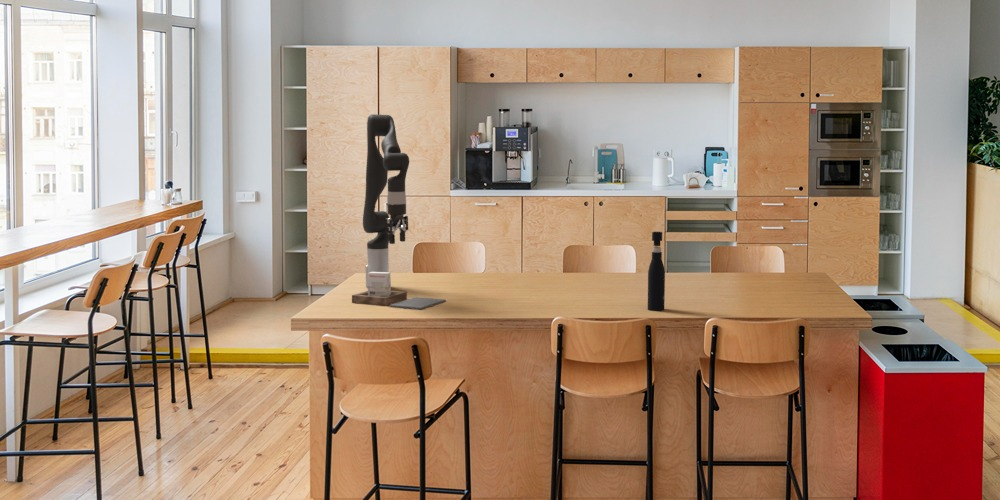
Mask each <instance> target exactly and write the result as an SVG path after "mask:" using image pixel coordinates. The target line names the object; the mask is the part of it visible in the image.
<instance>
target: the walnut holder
mask: <svg viewBox="0 0 1000 500" xmlns="http://www.w3.org/2000/svg"><path fill="white" fill-rule="evenodd" d="M405 300H408V295H407V291H398V290H391V295H389V296H386V297H378V296H368V290H366V291H362V292H358V293H356V294H351V303H353V304H363V305H373V306H374V305H376V306H390V305H392V304H395V303H398V302H401V301H405Z"/></svg>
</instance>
